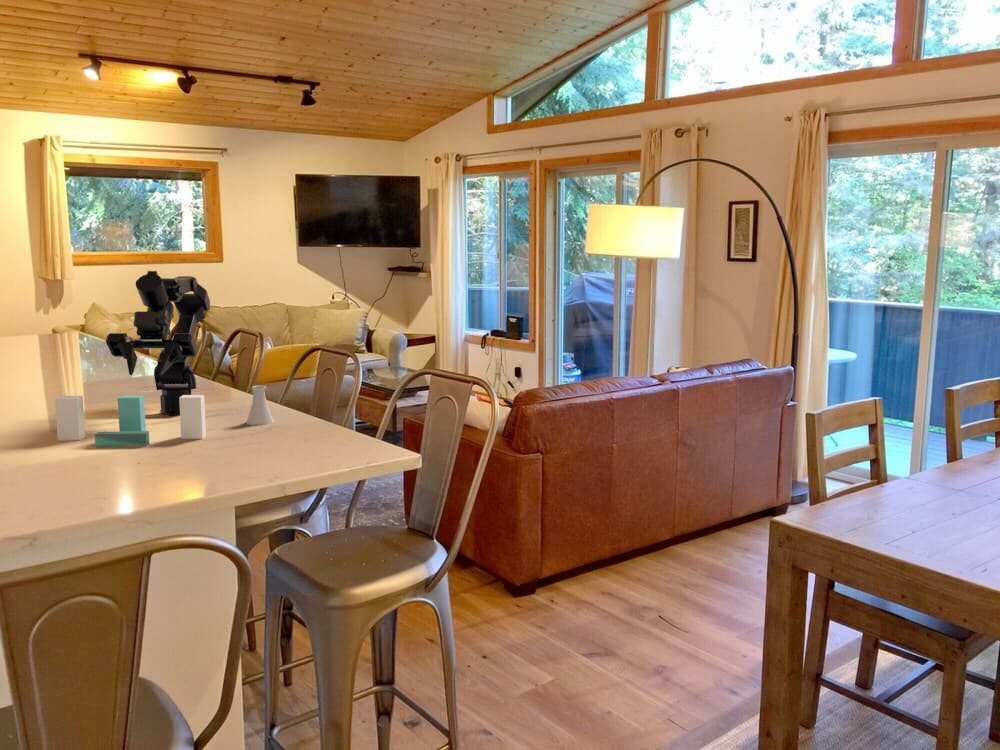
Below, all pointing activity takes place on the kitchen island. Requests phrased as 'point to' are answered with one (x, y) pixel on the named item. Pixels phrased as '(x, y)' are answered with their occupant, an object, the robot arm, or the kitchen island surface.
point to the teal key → (131, 413)
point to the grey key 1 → (70, 418)
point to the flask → (259, 408)
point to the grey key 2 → (192, 416)
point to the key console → (122, 439)
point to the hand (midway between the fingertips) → (145, 374)
